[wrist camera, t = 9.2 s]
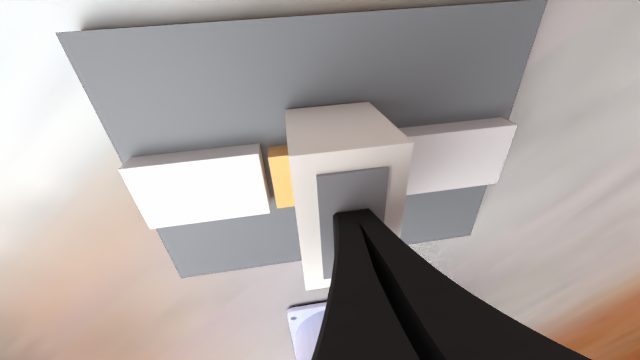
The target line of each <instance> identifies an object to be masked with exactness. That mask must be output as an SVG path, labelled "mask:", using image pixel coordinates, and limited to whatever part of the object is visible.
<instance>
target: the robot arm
mask: <svg viewBox="0 0 640 360" xmlns="http://www.w3.org/2000/svg"><path fill="white" fill-rule="evenodd" d="M333 236H334V263H333V270H332V278H331V283H330V289H329V294H328V299H327V302H324V303H318V304H311V305H305V306H299V307H293V308H290V309H288V310H287V317H288V322H289V327H290V331H291V336H292V341H293V346H294V350H295V355H296V360H591V359H589V358H587V357H585V356H583V355H581V354H579V353H577V352H575V351H573V350H571V349H569V348H567V347H565V346H563V345H560V344H558V343H557V342H555V341H553V340H551V339H549V338H547V337H545V336H543V335H541V334H540V333H538V332H536V331H534V330H532V329H530V328H529V327H527V326H525V325H523V324H521V323H519V322H518V321H516V320H514V319H512V318H511V317H509V316H507V315H505V314H504V313H502V312H501V311H499V310H497V309H496V308H494V307H492V306H491V305H489V304H487V303H486V302H484V301H482V300H481V299H479V298H478V297H476V296H474V295H473V294H471V293H470V292H468V291H467V290H465V289H464V288H462V287H461V286H459V285H458V284H456V283H455V282H454V281H452V280H451V279H449V278H448V277H447V276H445V275H444V274H442V273H441V272H440V271H438V270H437V269H436V268H435V267H433V266H432V265H431V264H429V263H428V262H427V261H426V260H425V259H423V258H422V257H421V256H420V255H418V254H417V253H416V252H415V251H414V250H413V249H411V248H410V247H409V246H408V245H407V244H406V243H405V242H404V241H402V240H401V239H400V238H399V237H398V236H397V235H396V234H395V233H394V232H393V231H392V230H391V229H389V228H388V227H387V226H386V225H385V224H384V223H383V222H382V221H381V220H380V219H379V218H378V217H377V216H376V215H375V214H374V213H373V212H372V211H371V210H370V209H369V208H367V209H360V210H353V211H346V212H338V213H335V214H334V215H333Z"/></svg>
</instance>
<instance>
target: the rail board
mask: <svg viewBox="0 0 640 360" xmlns="http://www.w3.org/2000/svg"><path fill="white" fill-rule="evenodd" d="M546 3H547V0H527V1H512V2H497V3H482V4H468V5H453V6H438V7H424V8H409V9H394V10H380V11H365V12H350V13H336V14H321V15H306V16H292V17H277V18H262V19H248V20H233V21H218V22H204V23H189V24H174V25H160V26H145V27H130V28H116V29H101V30H86V31H72V32H59V33H56V35H57V37H58V39H59V41H60V43H61V45H62V47H63V49H64V51H65V53H66V55H67V57H68V59H69V61H70V63H71V64H72V66H73V68H74V70H75V72H76V74H77V76H78V78H79V80H80V82H81V84H82V86H83V88H84V90H85V92H86V94H87V96H88V98H89V100H90V102H91V103H92V105H93V107H94V109H95V111H96V113H97V115H98V117H99V119H100V121H101V123H102V125H103V127H104V129H105V131H106V133H107V135H108V137H109V139H110V141H111V142H112V144H113V146H114V148H115V150H116V152H117V154H118V156H119V158H120V160H121V162H122V164H123V165H122V166H121V167H120V168H119V169H118V170H119V172H120V174H121V176H122V178H123V180H124V181H125V183H126V185H127V187H128V189H129V191H130V193H131V195H132V197H133V198H134V200H135V202H136V204H137V206H138V208H139V210H140V212H141V214H142V215H143V217H144V219H145V221H146V223H147V225H148V227H149V229H155V228H156V230H157V232H158V234H159V236H160V238H161V240H162V242H163V244H164V246H165V248H166V250H167V252H168V254H169V256H170V257H171V259H172V261H173V263H174V265H175V267H176V269H177V271H178V273H179V275H180V277H181V278H186V277H193V276H199V275H206V274H213V273H220V272H226V271H233V270H240V269H247V268H253V267H260V266H267V265H273V264H280V263H287V262H294V261H300V260H302V258H301V250H300V242H299V235H298V227H297V219H296V211H295V206H292V207H285V208H277V205H276V199H275V194H274V188H273V183H272V177H271V172H270V166H269V161H268V148H269V147H273V146H282V145H287V134H286V122H285V111H284V110H287V109H297V108H308V107H318V106H329V105H340V104H350V103H361V102H370V103H371V104H372V105H373V106H374V107H375V108H376V109H377V110H378V111H379V112H381V113H382V114H383V115H384V116H385V117H386V118H387V119H388V120H389V121H390V122H392V123H393V124H394V125H395V126H396V127H397V128H398V129H399V130H400V131H401V132H403V133H404V134H405V135H406V136H407V137H408V138H409V139H410V140H411V141H412V142H414V145H413V152H412V159H411V166H410V173H409V180H408V187H407V194H406V201H405V208H404V215H403V222H402V229H401V236H400V239H401V240H402V241H404V242H405V243H406V244H407V245H408V244H415V243H421V242H428V241H435V240H442V239H448V238H455V237H462V236H469V235H471V232H472V229H473V225H474V222H475V219H476V216H477V213H478V210H479V207H480V204H481V201H482V198H483V195H484V192H485V189H486V186H487V185H489V184H496V183H498V180H499V177H500V174H501V171H502V168H503V166H504V163H505V160H506V157H507V154H508V151H509V148H510V146H511V143H512V140H513V137H514V134H515V131H516V129H517V126H518V125H517V124H515V123H513V122H511V121H508V119H509V116H510V113H511V110H512V107H513V104H514V101H515V98H516V95H517V92H518V89H519V85H520V82H521V79H522V76H523V73H524V70H525V67H526V64H527V61H528V58H529V55H530V52H531V49H532V46H533V43H534V40H535V37H536V34H537V31H538V28H539V25H540V22H541V18H542V15H543V12H544V9H545V6H546Z"/></svg>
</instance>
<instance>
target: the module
mask: <svg viewBox="0 0 640 360" xmlns="http://www.w3.org/2000/svg"><path fill="white" fill-rule="evenodd" d="M284 111H285V122H286V134H287V146H288V157H289V165H290V173H291V181H292V188H293V196H294V204H295V211H296V219H297V227H298V235H299V242H300V250H301V258H302V265H303V273H304V281H305V288H306V291H307V290H313V289H320V288H326V287H330V283H331V278H332V270H333V263H334V236H333V215H334V214H335V213H338V212H346V211H353V210H360V209H367V208H369V209H370V210H371V211H372V212H373V213H374V214H375V215H376V216H377V217H378V218H379V219H380V220H381V221H382V222H383V223H384V224H385V225H386V226H387V227H388V228H389V229H391V230H392V231H393V232H394V233H395V234H396V235H397V236H398V237H399V238H400V236H401V229H402V222H403V215H404V208H405V201H406V194H407V187H408V180H409V173H410V166H411V159H412V152H413V145H414V142H412V141H411V140H410V139H409V138H408V137H407V136H406V135H405V134H404V133H403V132H401V131H400V130H399V129H398V128H397V127H396V126H395V125H394V124H393V123H392V122H390V121H389V120H388V119H387V118H386V117H385V116H384V115H383V114H382V113H381V112H379V111H378V110H377V109H376V108H375V107H374V106H373V105H372V104H371V103H370V102H361V103H350V104H340V105H329V106H318V107H308V108H297V109H287V110H284Z"/></svg>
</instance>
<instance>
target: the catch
mask: <svg viewBox="0 0 640 360" xmlns="http://www.w3.org/2000/svg"><path fill="white" fill-rule="evenodd" d="M268 161H269V166H270V172H271V177H272V183H273V188H274V194H275V199H276V205H277V208H285V207H292V206H295V204H294V196H293V188H292V181H291V173H290V165H289V157H288V146H287V145H282V146H273V147H269V148H268Z"/></svg>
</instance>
